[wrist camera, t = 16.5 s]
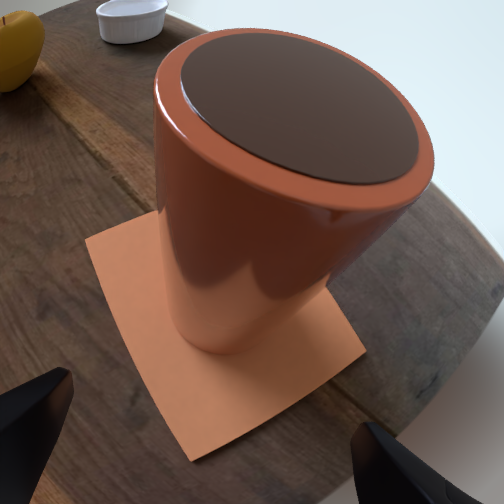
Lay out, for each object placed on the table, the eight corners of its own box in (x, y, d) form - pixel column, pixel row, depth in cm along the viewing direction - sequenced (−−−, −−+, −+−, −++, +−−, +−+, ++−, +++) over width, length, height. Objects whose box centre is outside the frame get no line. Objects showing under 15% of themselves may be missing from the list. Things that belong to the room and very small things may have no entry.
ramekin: (111, 21, 32) (111, -4, 28) (172, 21, 33) (175, -5, 29) (86, 48, 28) (84, 18, 24) (156, 47, 29) (158, 15, 25)
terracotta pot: (245, 376, 16) (419, 284, 4) (146, 315, 16) (83, 97, 4) (295, 285, 19) (439, 106, 7) (206, 232, 19) (251, 11, 7)
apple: (56, 82, 24) (45, 9, 16) (-15, 118, 20) (-39, 48, 13) (46, 55, 26) (38, -6, 19) (-14, 84, 23) (-30, 25, 15)
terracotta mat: (363, 352, 18) (367, 350, 18) (190, 460, 14) (190, 462, 13) (250, 179, 22) (251, 176, 22) (86, 242, 18) (84, 239, 17)
